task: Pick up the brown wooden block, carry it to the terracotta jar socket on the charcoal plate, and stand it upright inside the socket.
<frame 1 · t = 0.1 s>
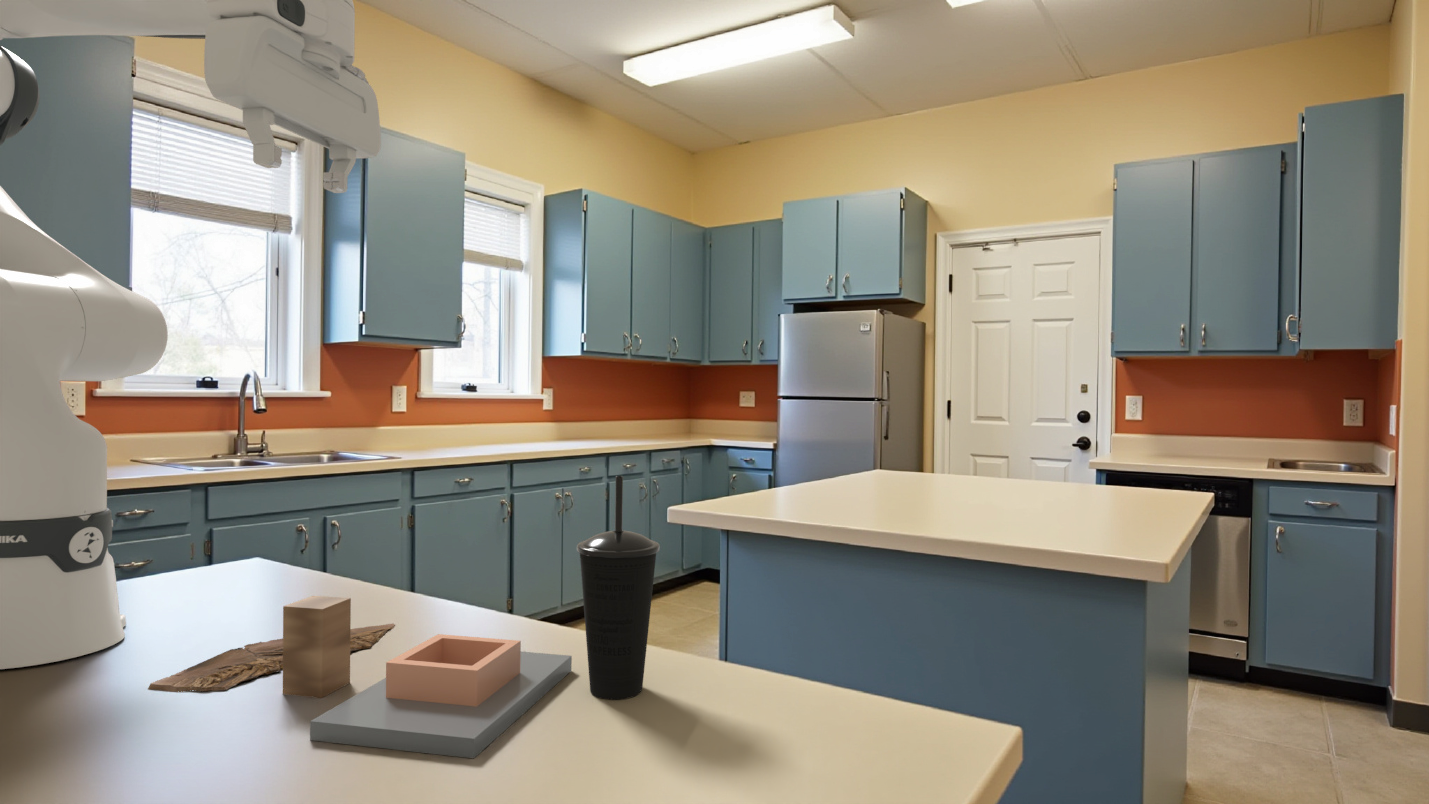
hand: (303, 179, 79), 48 cm above the countertop, fingers open, 8 cm apart
wooden fragment: (292, 658, 85), on the countertop
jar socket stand: (455, 701, 73), on the countertop
brown wooden block: (317, 688, 76), on the countertop
drinking cup: (616, 692, 76), on the countertop
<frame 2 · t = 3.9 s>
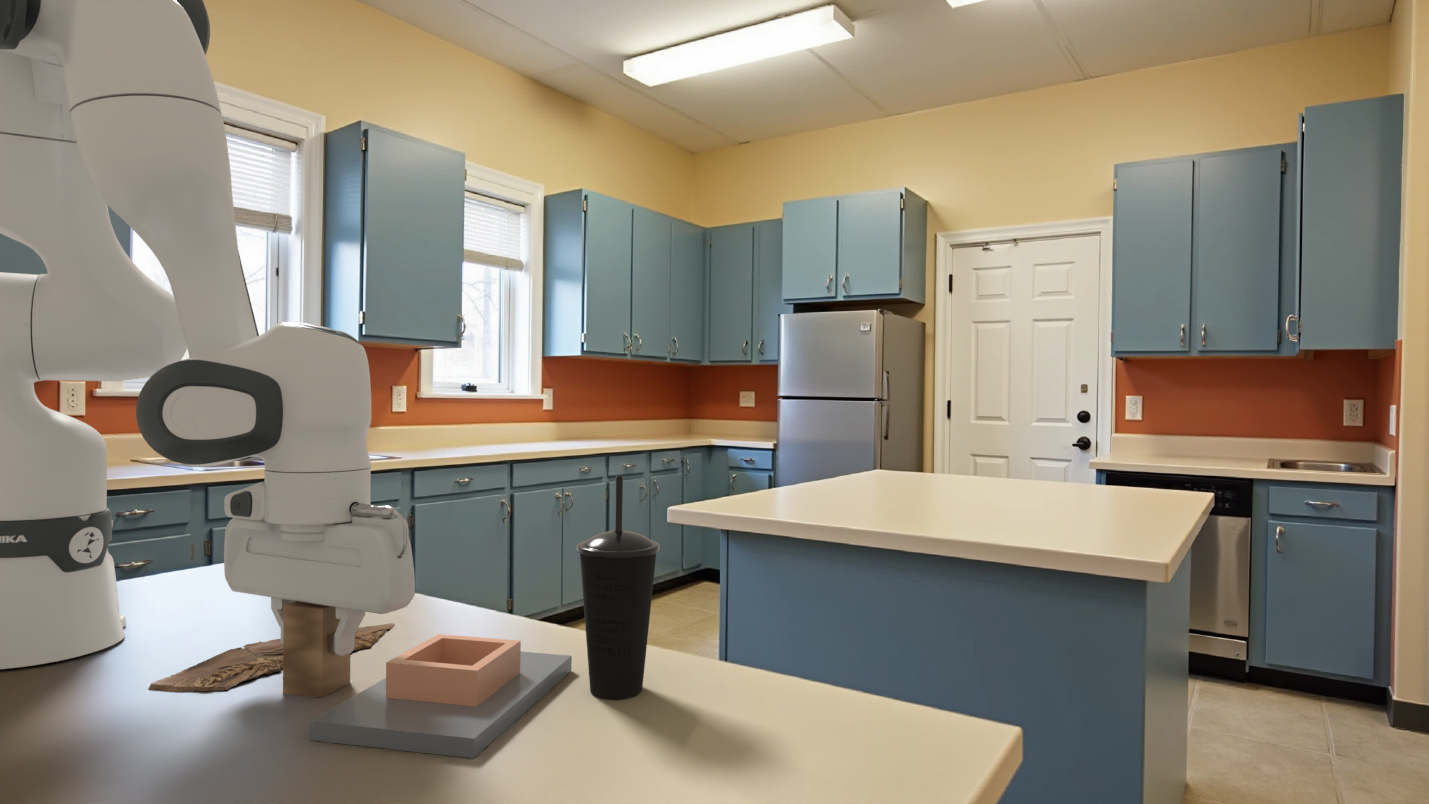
hand: (317, 649, 76), 4 cm above the countertop, fingers closed on brown wooden block, 4 cm apart
brown wooden block: (317, 687, 76), on the countertop, touching gripper
everything else where it was.
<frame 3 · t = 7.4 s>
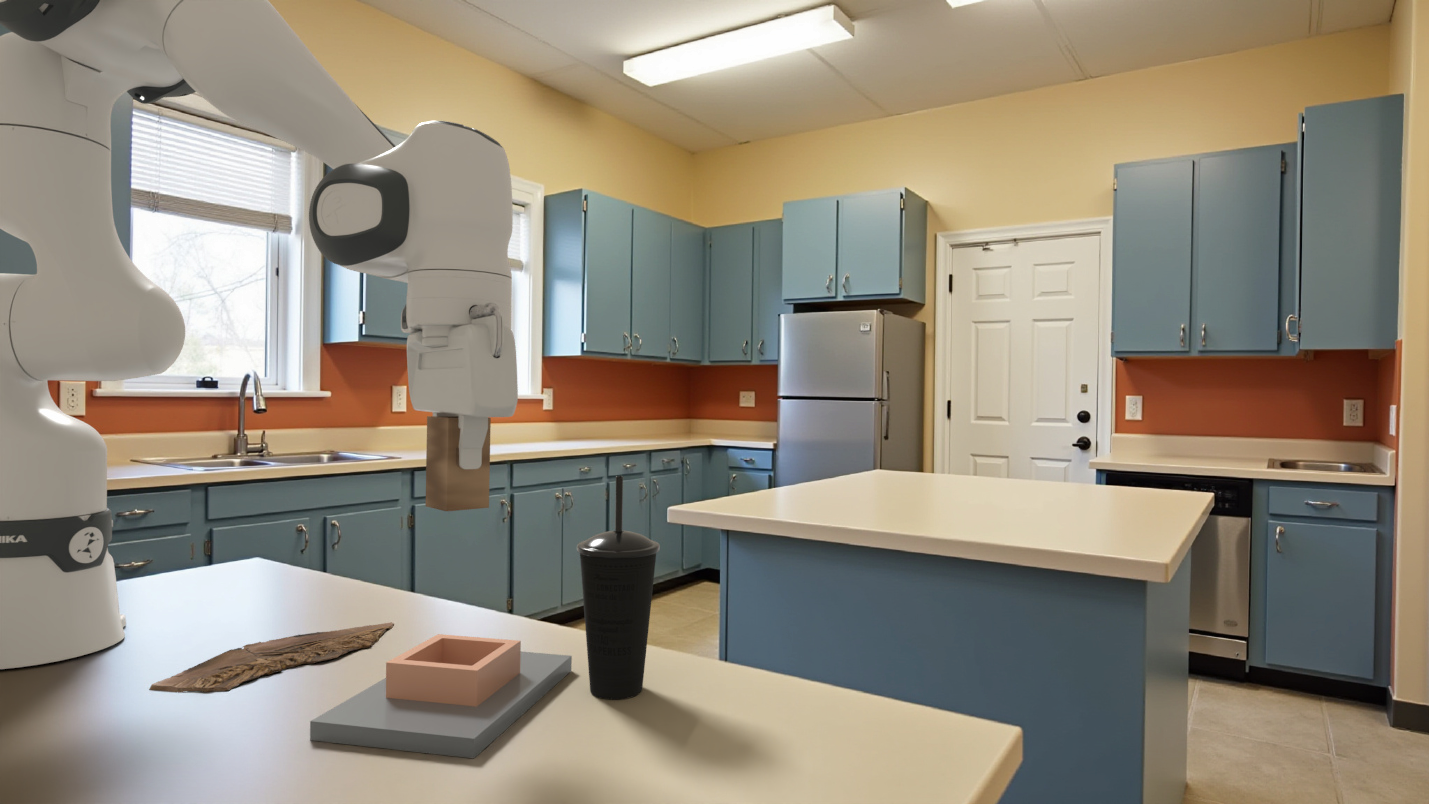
hand: (458, 465, 73), 21 cm above the countertop, fingers closed on brown wooden block, 4 cm apart
brown wooden block: (457, 507, 73), point 17 cm above the countertop, touching gripper
everything else where it was.
when the fingers open (6 cm above the countertop, at t = 11.4 s): brown wooden block stays where it is, resting on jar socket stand.
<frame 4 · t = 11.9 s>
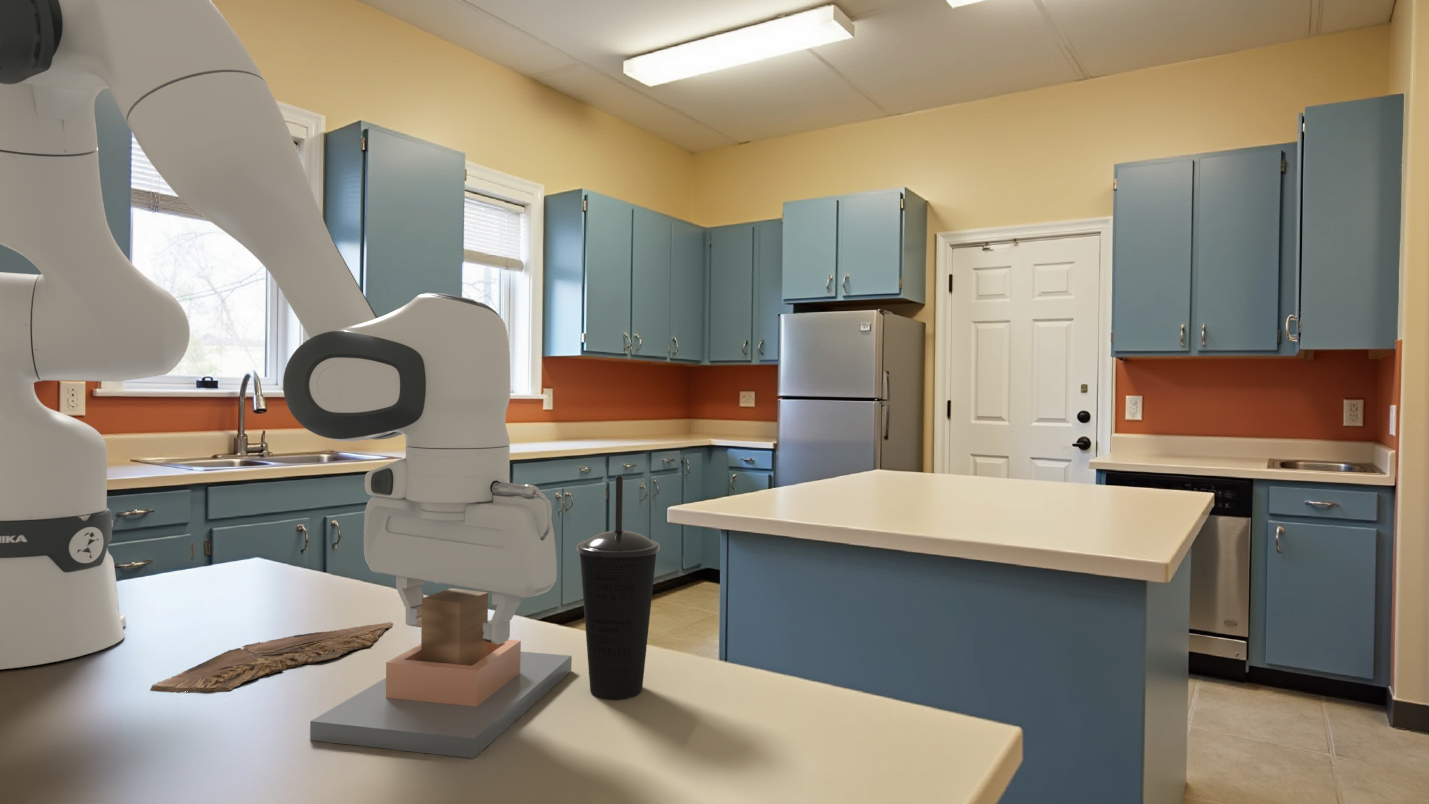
hand: (456, 633, 73), 6 cm above the countertop, fingers open, 8 cm apart
brown wooden block: (454, 684, 73), point 1 cm above the countertop, touching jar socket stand
everything else where it was.
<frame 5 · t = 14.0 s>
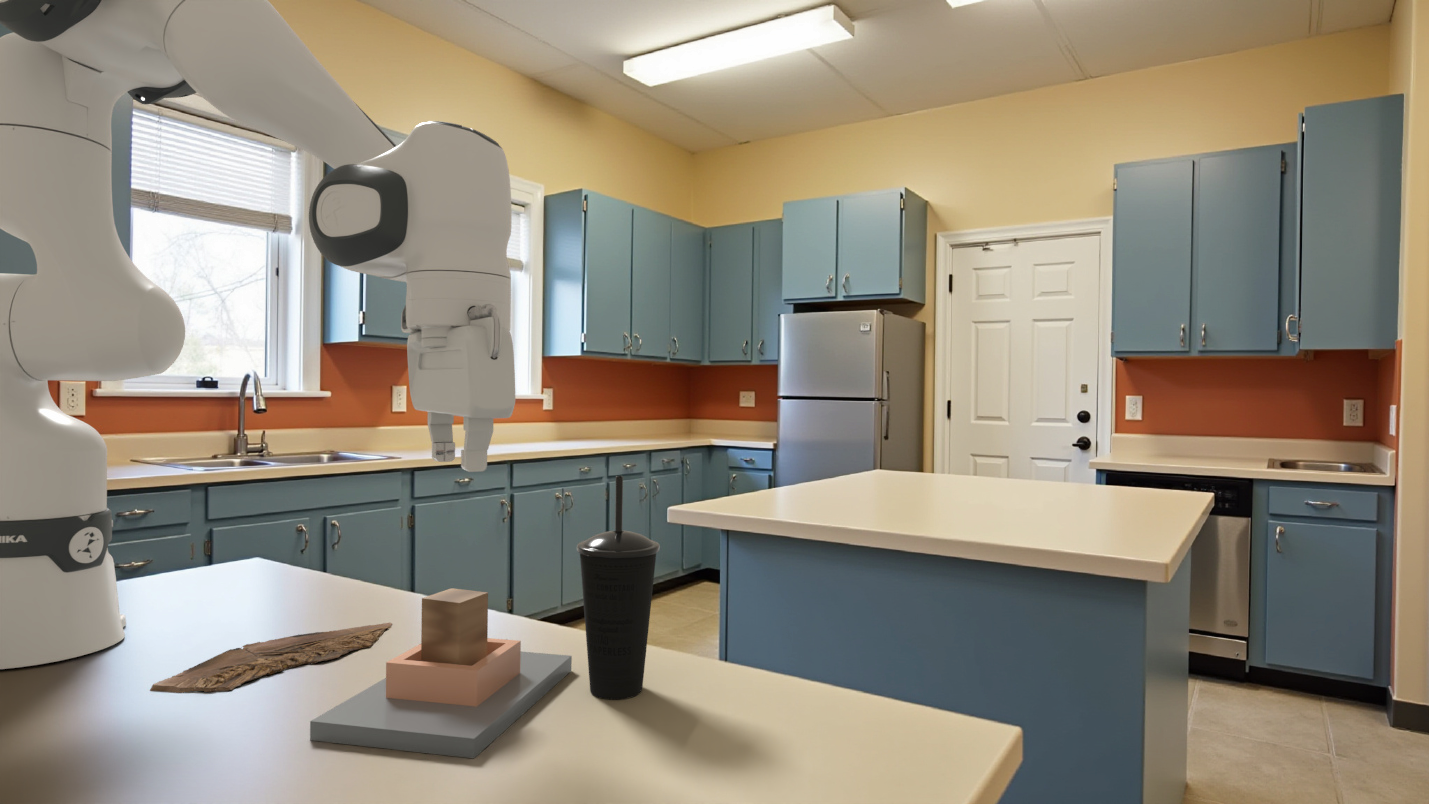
hand: (457, 465, 73), 21 cm above the countertop, fingers open, 8 cm apart
nothing on the countertop moved.
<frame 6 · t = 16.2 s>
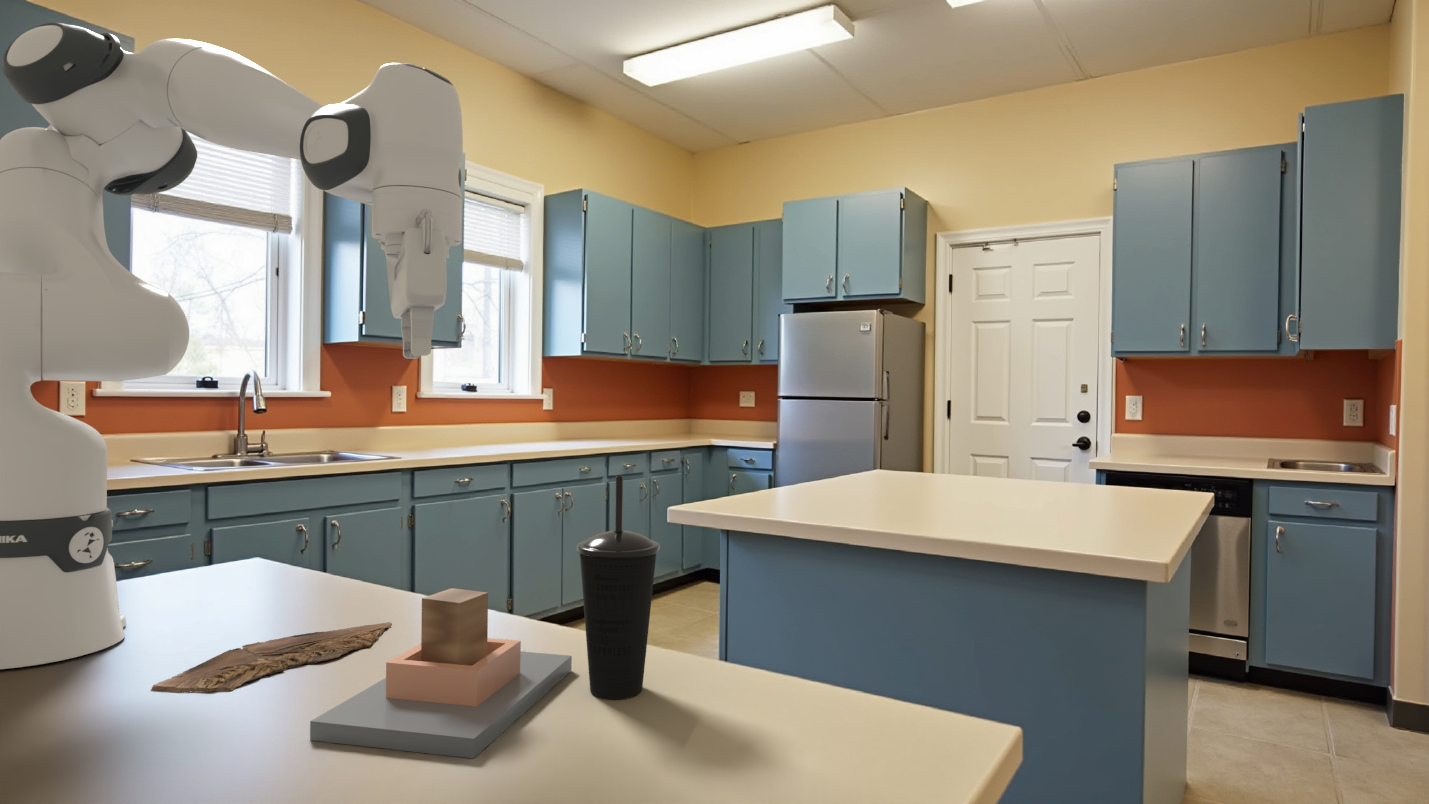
hand: (416, 357, 85), 31 cm above the countertop, fingers open, 8 cm apart
nothing on the countertop moved.
at the end: brown wooden block 0.1 cm off-centre on the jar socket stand, point 1.5 cm above the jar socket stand's base; brown wooden block tilted 0°; the gripper is holding nothing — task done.
